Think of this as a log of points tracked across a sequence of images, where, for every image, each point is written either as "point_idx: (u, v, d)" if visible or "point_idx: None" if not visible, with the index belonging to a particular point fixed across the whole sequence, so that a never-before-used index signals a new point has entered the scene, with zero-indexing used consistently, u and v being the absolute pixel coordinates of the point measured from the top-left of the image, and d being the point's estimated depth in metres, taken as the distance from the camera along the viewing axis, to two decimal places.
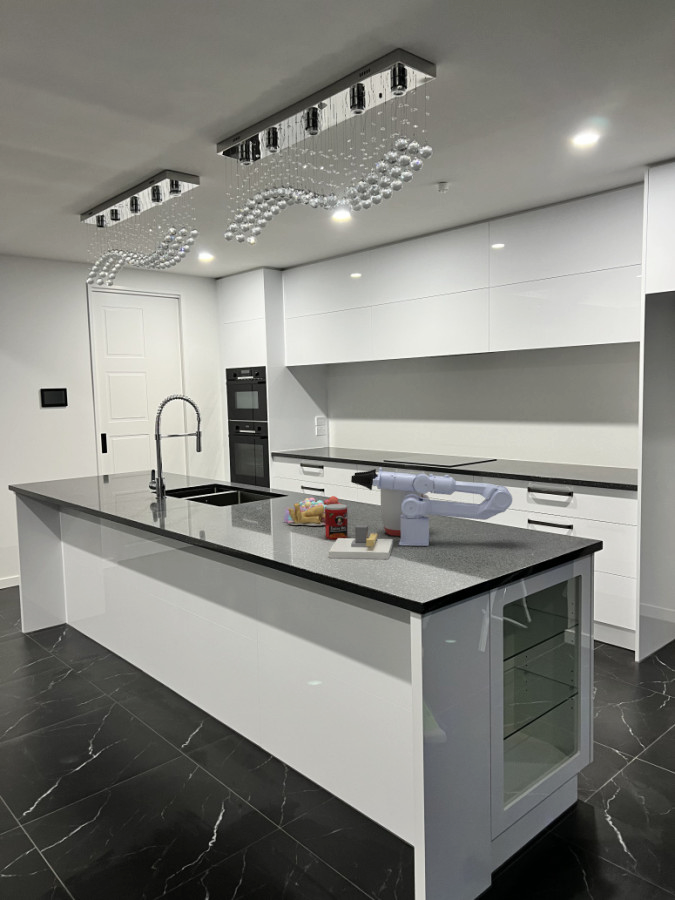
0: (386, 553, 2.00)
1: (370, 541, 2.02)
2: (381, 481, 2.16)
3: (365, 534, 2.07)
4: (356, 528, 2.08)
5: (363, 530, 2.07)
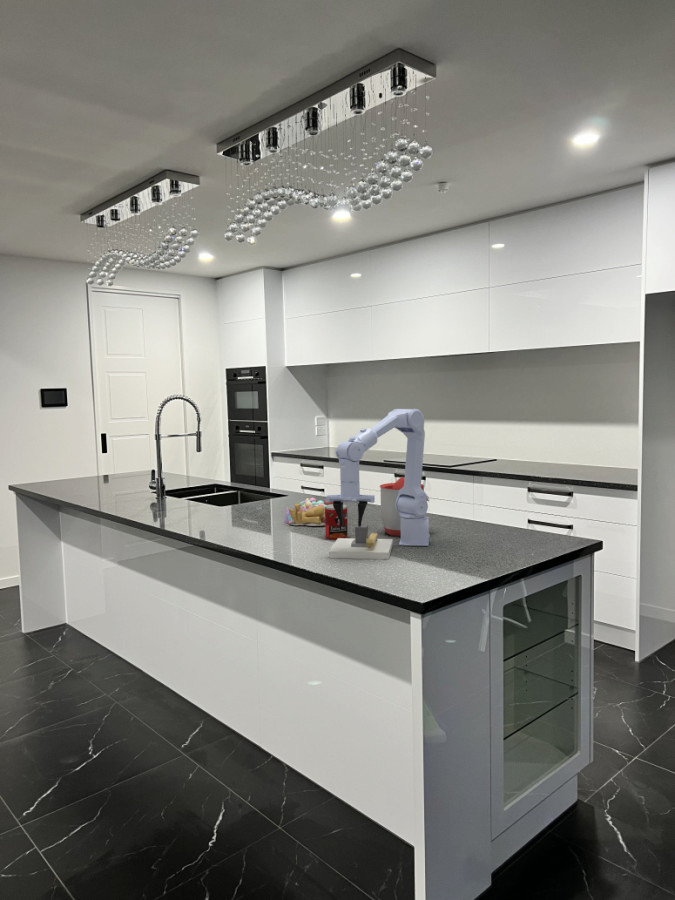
0: (386, 553, 2.00)
1: (370, 541, 2.02)
2: (359, 494, 2.02)
3: (365, 534, 2.07)
4: (356, 528, 2.08)
5: (363, 530, 2.07)
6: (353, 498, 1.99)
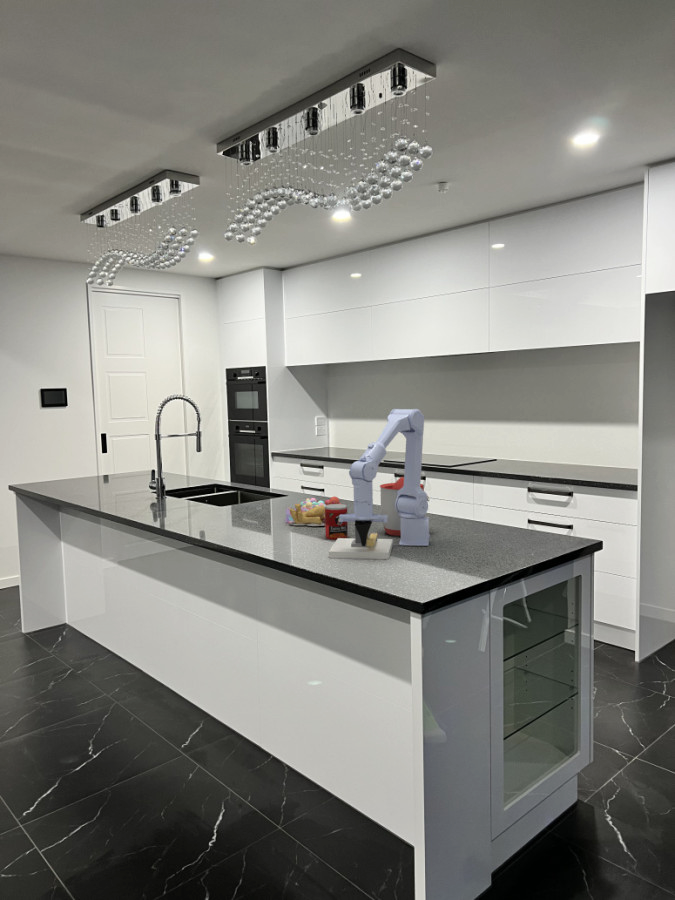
0: (386, 553, 2.00)
1: (370, 541, 2.02)
2: (372, 513, 2.02)
3: None
4: None
5: None
6: (366, 518, 2.00)
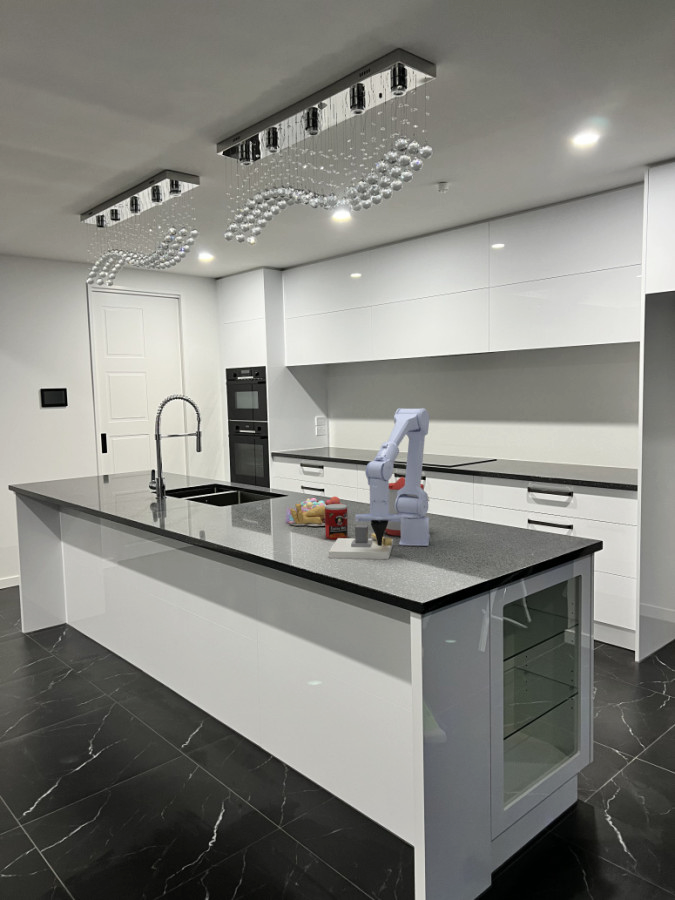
0: (386, 553, 2.00)
1: (389, 540, 2.03)
2: (388, 513, 2.02)
3: (365, 534, 2.07)
4: (356, 528, 2.08)
5: (363, 530, 2.07)
6: (383, 518, 1.99)
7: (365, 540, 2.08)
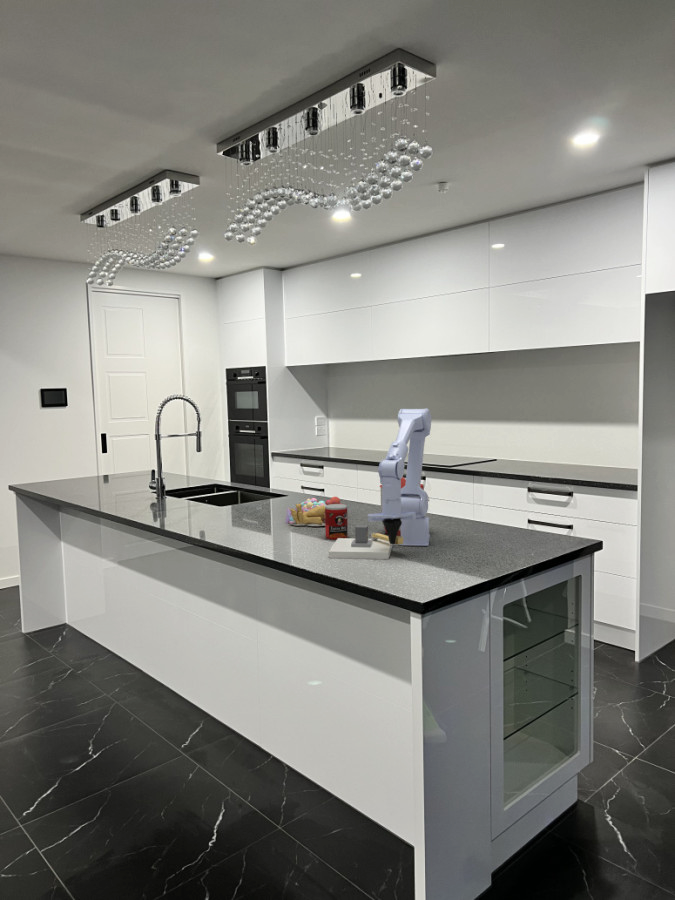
0: (386, 553, 2.00)
1: (401, 539, 2.04)
2: None
3: (365, 534, 2.07)
4: (356, 528, 2.08)
5: (363, 530, 2.07)
6: (398, 516, 2.01)
7: (365, 540, 2.08)
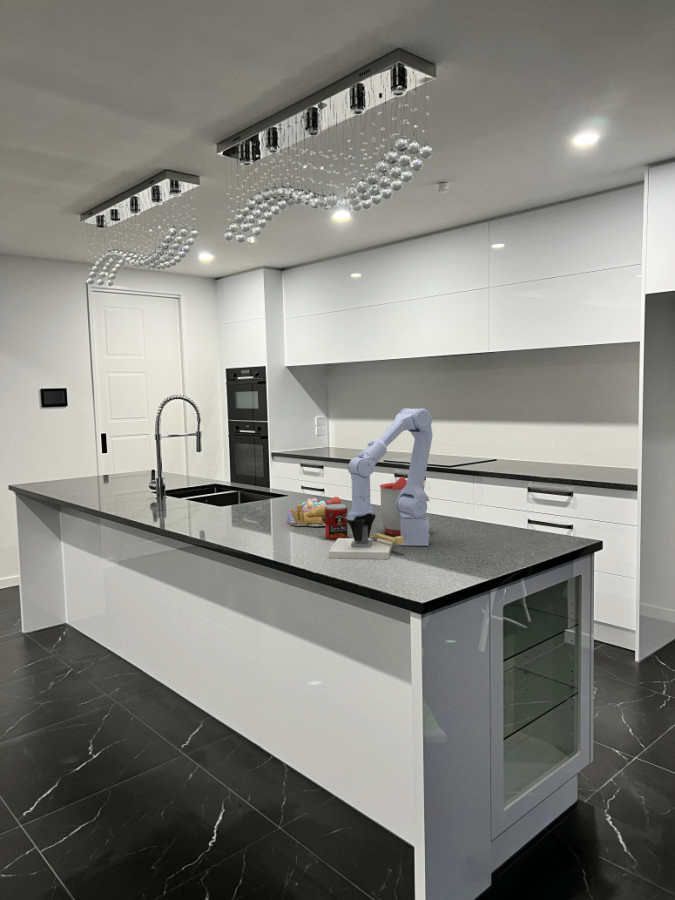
0: (386, 553, 2.00)
1: (401, 539, 2.04)
2: None
3: (365, 534, 2.07)
4: None
5: (363, 530, 2.07)
6: None
7: (365, 540, 2.08)
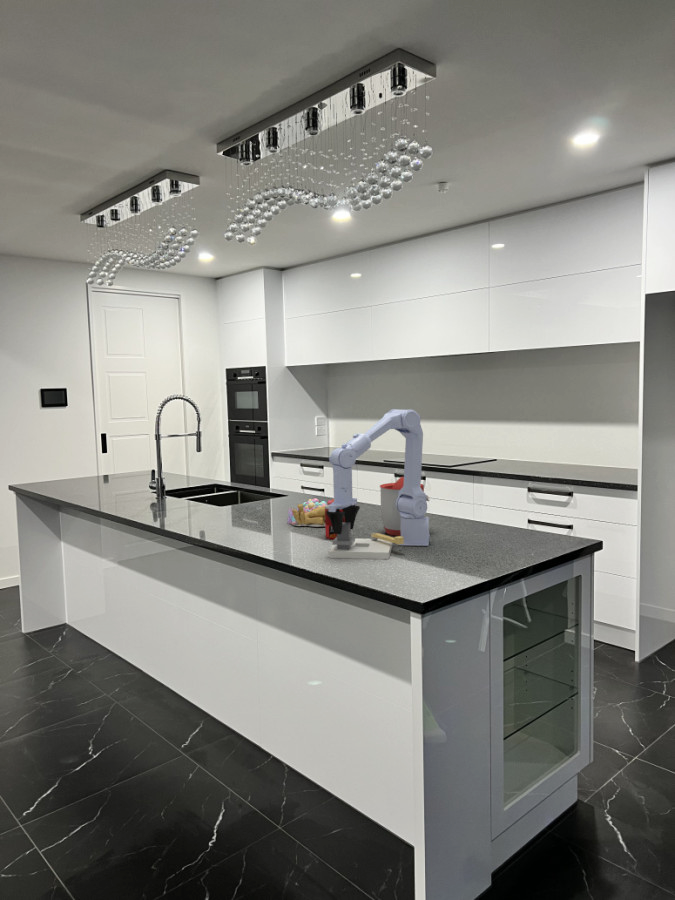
0: (386, 553, 2.00)
1: (401, 539, 2.04)
2: None
3: (347, 531, 2.04)
4: None
5: (345, 528, 2.04)
6: None
7: (347, 538, 2.04)
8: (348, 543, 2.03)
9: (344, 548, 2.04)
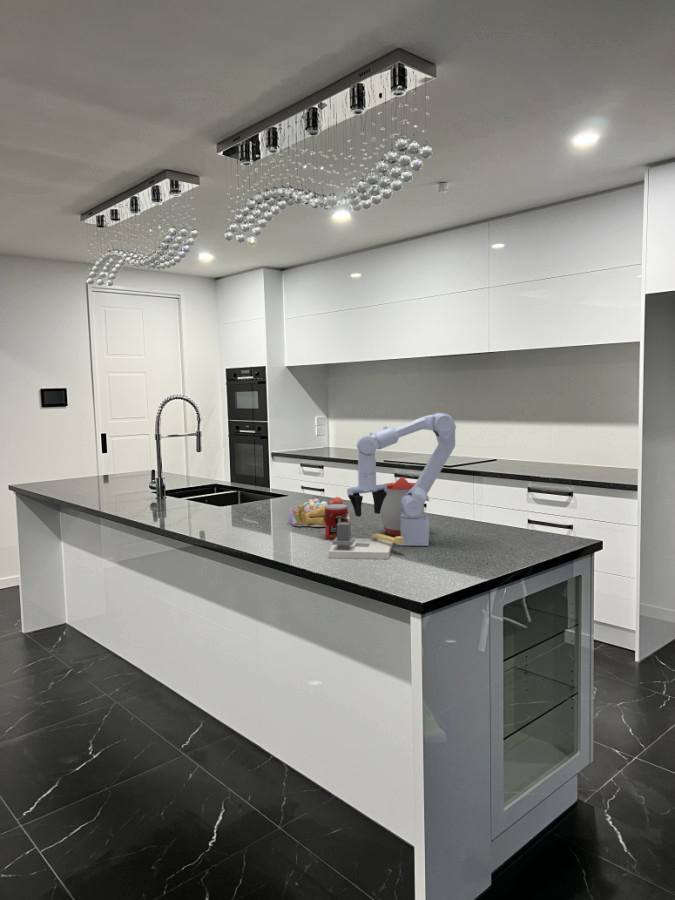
0: (386, 553, 2.00)
1: (401, 539, 2.04)
2: None
3: (347, 531, 2.04)
4: (338, 525, 2.04)
5: (345, 528, 2.04)
6: (375, 488, 2.15)
7: (347, 538, 2.04)
8: (348, 543, 2.03)
9: (344, 548, 2.04)
